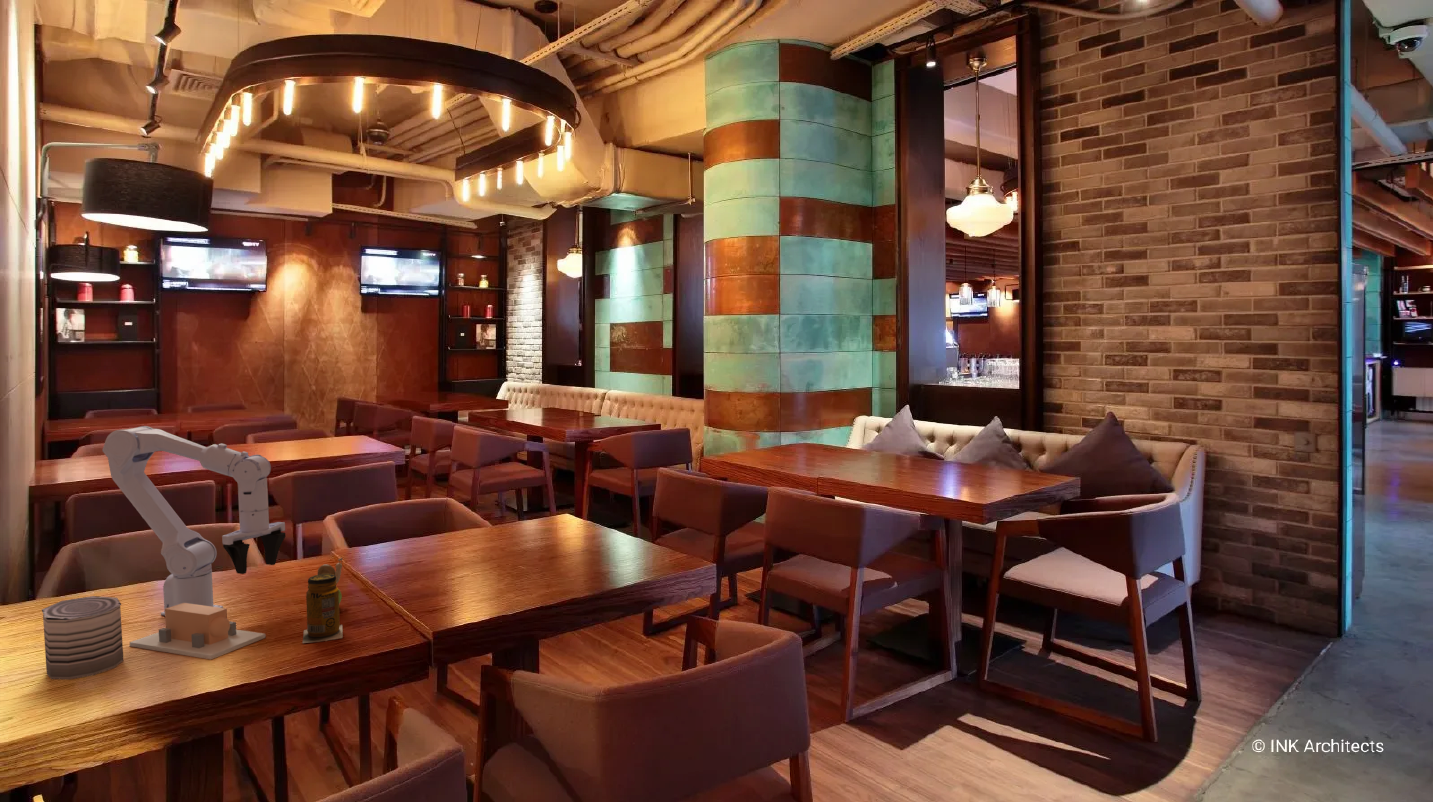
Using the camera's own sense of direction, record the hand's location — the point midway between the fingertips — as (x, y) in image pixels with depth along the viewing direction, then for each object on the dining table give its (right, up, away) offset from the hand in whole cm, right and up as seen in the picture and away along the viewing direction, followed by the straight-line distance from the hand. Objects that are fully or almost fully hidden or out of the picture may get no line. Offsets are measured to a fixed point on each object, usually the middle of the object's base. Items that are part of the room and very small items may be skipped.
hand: (256, 568), depth 178 cm
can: (-13, -12, -32) cm, 36 cm away
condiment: (+23, -11, -16) cm, 30 cm away
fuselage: (-1, -10, -19) cm, 22 cm away
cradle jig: (0, -11, -19) cm, 22 cm away
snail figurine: (+17, -10, 0) cm, 19 cm away
